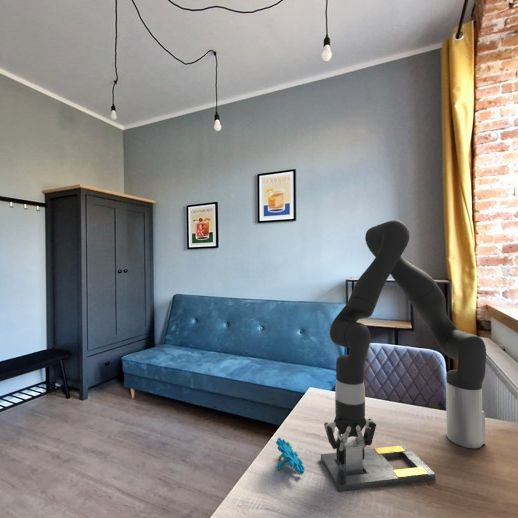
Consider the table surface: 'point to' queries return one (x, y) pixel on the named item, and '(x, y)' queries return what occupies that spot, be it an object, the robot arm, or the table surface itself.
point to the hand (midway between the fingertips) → (350, 461)
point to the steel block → (352, 458)
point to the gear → (289, 456)
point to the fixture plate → (378, 469)
